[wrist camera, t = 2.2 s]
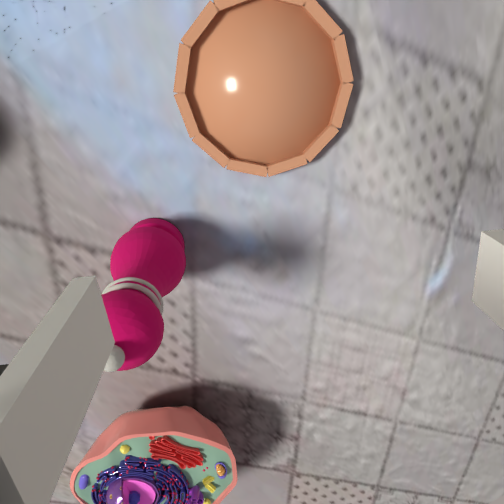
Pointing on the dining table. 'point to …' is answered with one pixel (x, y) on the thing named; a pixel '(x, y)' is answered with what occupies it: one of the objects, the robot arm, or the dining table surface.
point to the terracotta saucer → (263, 83)
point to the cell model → (157, 460)
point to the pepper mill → (141, 290)
